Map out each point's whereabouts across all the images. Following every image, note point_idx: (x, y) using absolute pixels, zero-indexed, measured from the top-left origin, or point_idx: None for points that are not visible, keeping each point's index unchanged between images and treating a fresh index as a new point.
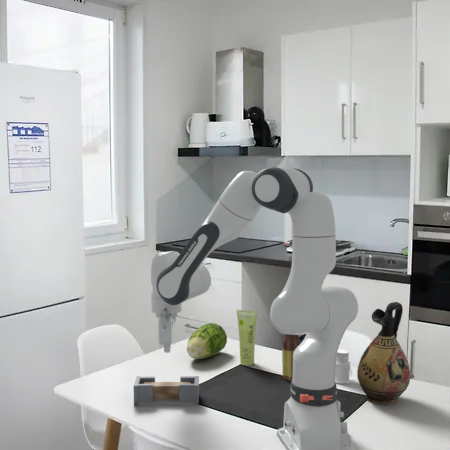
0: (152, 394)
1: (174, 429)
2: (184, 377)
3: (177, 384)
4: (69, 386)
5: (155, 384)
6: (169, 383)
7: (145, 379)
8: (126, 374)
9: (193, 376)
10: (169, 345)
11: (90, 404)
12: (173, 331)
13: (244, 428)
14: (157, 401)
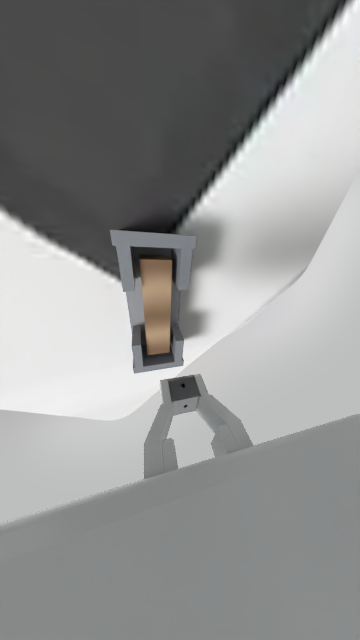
0: (179, 330)
1: (263, 279)
2: (131, 280)
3: (160, 293)
4: (112, 415)
5: (160, 336)
6: (154, 311)
7: (142, 357)
8: (31, 383)
9: (118, 250)
10: (217, 401)
11: None
12: (169, 506)
13: (322, 115)
14: (175, 316)
